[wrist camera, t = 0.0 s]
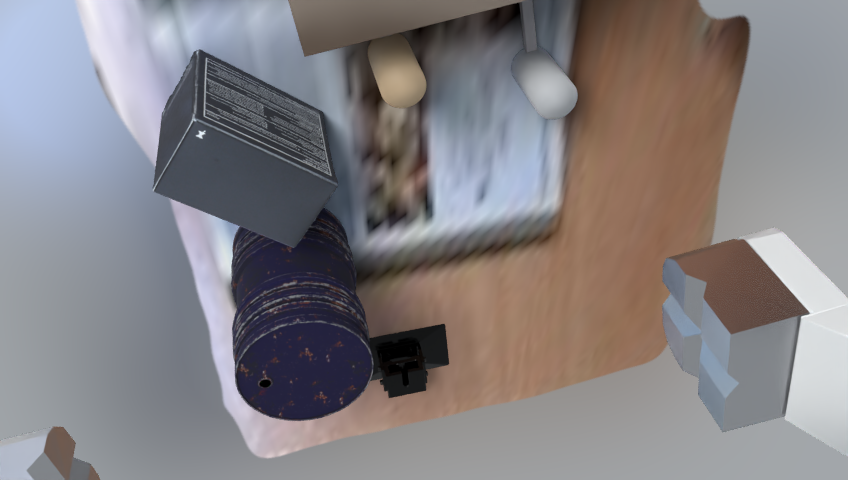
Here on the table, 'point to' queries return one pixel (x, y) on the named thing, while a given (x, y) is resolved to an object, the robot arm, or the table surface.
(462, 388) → the table surface
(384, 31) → the divided storage tray
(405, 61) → the cylinder on stand
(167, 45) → the table surface
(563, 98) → the ball-top joystick
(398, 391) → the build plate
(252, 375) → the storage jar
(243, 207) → the small box
